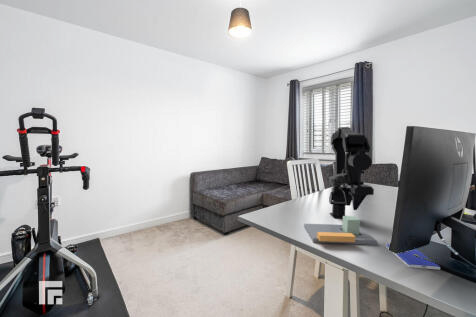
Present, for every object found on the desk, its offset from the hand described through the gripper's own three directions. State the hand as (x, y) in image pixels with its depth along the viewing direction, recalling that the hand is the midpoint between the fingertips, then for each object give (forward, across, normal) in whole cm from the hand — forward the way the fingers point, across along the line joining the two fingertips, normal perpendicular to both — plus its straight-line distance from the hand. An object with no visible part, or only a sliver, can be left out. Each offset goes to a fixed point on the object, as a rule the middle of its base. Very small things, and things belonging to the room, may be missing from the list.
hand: (351, 207), depth 83 cm
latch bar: (+9, +8, -8) cm, 15 cm away
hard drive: (+12, +15, +12) cm, 22 cm away
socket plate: (+11, 0, -5) cm, 12 cm away
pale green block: (+11, 0, 0) cm, 11 cm away
